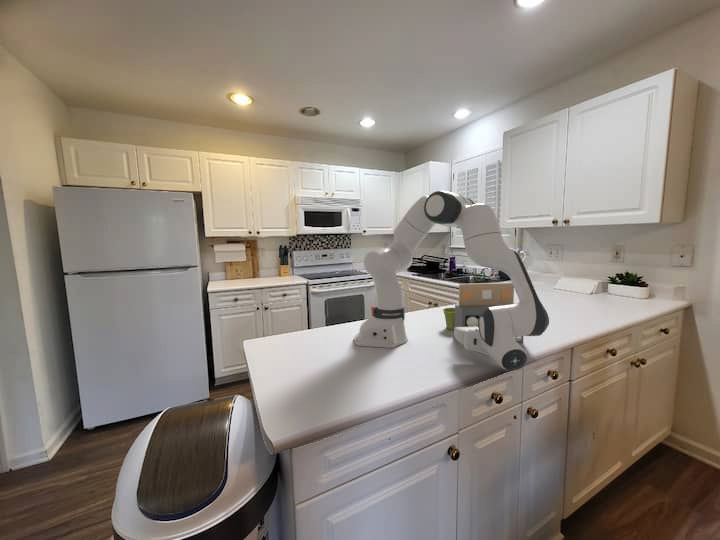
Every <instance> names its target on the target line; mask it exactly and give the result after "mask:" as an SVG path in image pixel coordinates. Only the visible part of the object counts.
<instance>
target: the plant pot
mask: <svg viewBox="0 0 720 540" xmlns="http://www.w3.org/2000/svg"><path fill="white" fill-rule="evenodd" d="M442 312H443V314H444V319H445V325H446V329H448V330H450V331H451V330H452V331H454V328H455V307H446V308H443V309H442Z"/></svg>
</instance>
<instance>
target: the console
mask: <svg viewBox="0 0 720 540" xmlns="http://www.w3.org/2000/svg"><path fill="white" fill-rule="evenodd" d="M514 295H515V288H514V286H513V284H512V282H496V283H495V282H490V283H489V282H488V283H487V282H486V283H485V282H484V283H482V282H479V283H459V284H458V303H455V304H454V308H455V327H469V326H468V325H467V324H466V322H465V320H466V318H467V317H468V316H474V317H476V318H477V319H479V316H480V314H481V313H482V311H483V310H484V309H485V308H486V307H493V306H500V305H509V304H515V303H514V298H515V296H514ZM521 337H522V340H519V341H516V342H517V343H518V344H524V337H525V336H521Z"/></svg>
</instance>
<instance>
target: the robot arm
mask: <svg viewBox="0 0 720 540" xmlns="http://www.w3.org/2000/svg"><path fill="white" fill-rule="evenodd" d="M436 224H438V225H441V226H444V227H448V228H449V227H451V228H458V229H460V230H461V234H462V238H463V244H464V248H465V249H464V250H465V252H466V256H467V258H468V259H469V260H470V261H471V262H472V263H474V264H476V265H478V266H480V267H483V268H486V269H487V268H488V269H492V270H497V271H500V272H503V273H504V274H505V275H507V276H508V277H509V279H510V281H511V283H512V284H513V286H514V292H515V293H516V295H517V297H518V298H517V299H518V300H519V301H518V303H517V302H516V303H514V304H509V305H500V306H493V307H486V308H485V309H484V310H483V311H482V313H481V314H480V316H479V319H478V325H474V326H473V327H455V328H454V330H453V333H454V334H453V337H454V339H455V340H456V341H457V342H458V343H459V344H460V345H462V346H464V349H465V350H466V351H473V352H479V353H482V354H486V355H487V356H488V357H489V358H490V359H491V361H492V362H494V363H495V365H497V366H498V367H499V368H501V369H502V370H505V371H508V372H515V371H518V370H520V369H522V368H523V367H525V366H526V364H527V362H528V355H527V352H526V350H525V349H524V348H523V347H522V346H521V345H520V343H517V342H516V341H519V340H522V337H521V336H524V337H538V336H542V335H543V334H544V333H545V331H546V330H547V328H548V326H549V325H550V317H549V313H548V312H547V310H546V308H545V306H544V305H543V303H542V302H541V300H540V298H539V296H538V294H537V292H536V289H535V287H534V285H533V283H532V280H531V277H530V276H529V273H528V271H527V268H526V266H525V265H524V262H523V260H522V258H521V257H520V255H519V253H518V252H517V251H515V250H513V249H511V248H510V247H509V246H508V245H507V243H506V242H505V240H504V238H503V236H502V232H501V228H500V223H499V222H498V218H497V216H496V214H495V211H494V209H493V208H492V206H491V205H490V204H488V203H482V202H479V203H476V202H475V201H473V200H472V199H471V198H467V197H466V196H463V195H461V194H459V193H454V192H449V191H446V190H438V191H435V192H434V191H433V192H432V193H431V194H430V195H423V196H421V197H419V199H417V200H416V201H415V203H413V205H412V206H411V207H410V208H409V209H408V210H407V211H406V213H405V215H404V216H403V217H402V219H401V220H400V222H399V223H398V224H397V226H396V227H395V228H394V230H393V240H392V241H391V244H390V245H389V246H387V247H380V248H375V249H372V250H371V251H369V252H368V253H366V254H365V256H364V259H363V266H364V269H365V271H366V273H367V274H369V276H371V278H372V280H373V283H374V286H375V294H376V295H375V296H376V306H375V305H372V306H371V307H370V310H371V316H370V317H369V318H367V319H366V320H364V322H362V324H361V325H360V326H359V331H358V333H356V334H355V335H354V336H353V337H354V338H353V340H354V341H353V342H354V344H355V345H356V346H359V347H370V348H371V347H373V348H387V349H388V348H389V349H395V348H396V347H398V346H400V345H403V344H405V343H407V342H408V340H409V339H408V336H407V332H406V326H405V316H406V315H405V313H406V311H405V307H404V290H403V289H404V288H403V287H402V285H400V284H399V282H398V281H399V280H398V278H397V274H398V273H402V272H404V271H406V270H408V269H409V268H410V267H411V266H412V264H413V257H414V254H415V252H416V250H417V248H418V247H419V245H420V244H422V242H423V240H424V239H425V238H426V237H427V236H428V234H429V232H430V231H431V230H432V229H433V228H434V226H436Z"/></svg>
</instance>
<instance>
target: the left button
mask: <svg viewBox="0 0 720 540" xmlns="http://www.w3.org/2000/svg"><path fill="white" fill-rule="evenodd" d="M465 322H466V324H467V325H468V326H469V327H473V326H474V325H478V319H477V318H476V317H474V316H468V317H467V318H466V320H465Z"/></svg>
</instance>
